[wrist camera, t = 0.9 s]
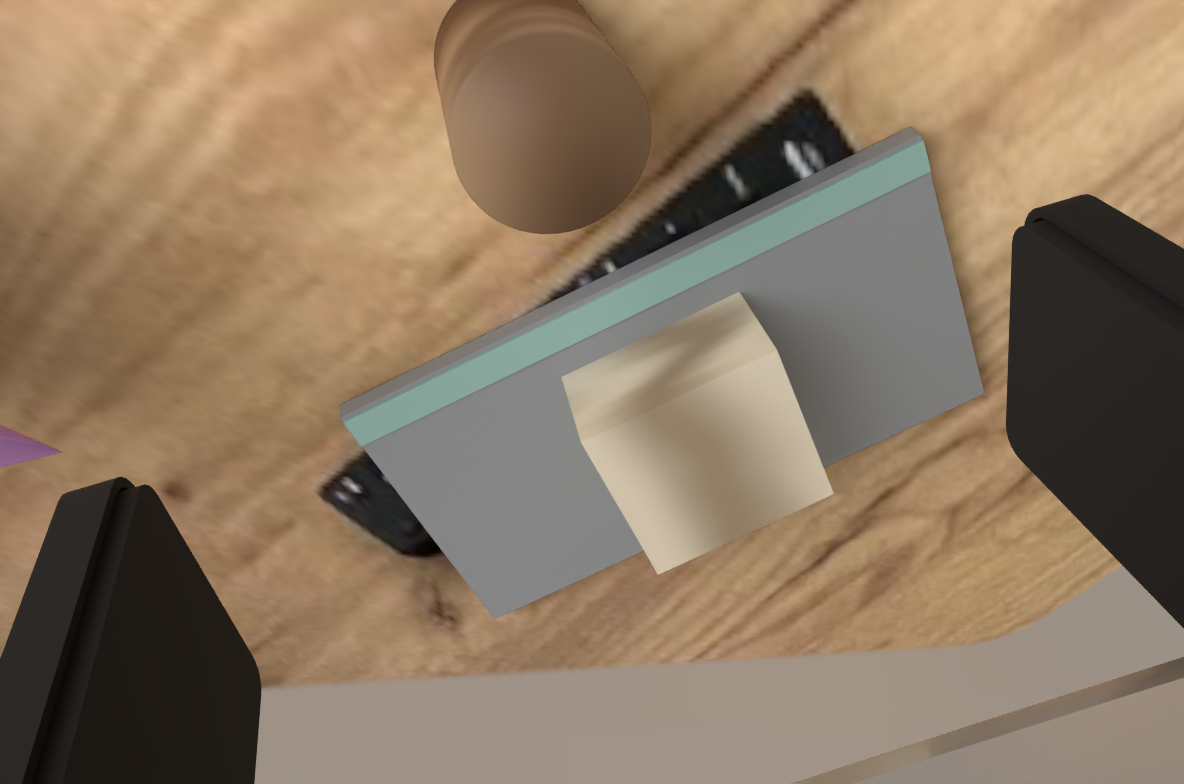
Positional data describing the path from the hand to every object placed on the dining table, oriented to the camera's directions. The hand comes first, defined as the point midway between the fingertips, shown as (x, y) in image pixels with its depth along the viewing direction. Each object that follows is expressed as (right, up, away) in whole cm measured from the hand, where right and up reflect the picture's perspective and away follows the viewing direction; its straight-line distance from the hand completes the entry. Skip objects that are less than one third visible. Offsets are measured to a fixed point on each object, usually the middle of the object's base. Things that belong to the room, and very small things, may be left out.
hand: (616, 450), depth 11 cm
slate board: (+3, +1, +28) cm, 28 cm away
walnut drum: (-3, +11, +20) cm, 23 cm away
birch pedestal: (+3, 0, +27) cm, 27 cm away
